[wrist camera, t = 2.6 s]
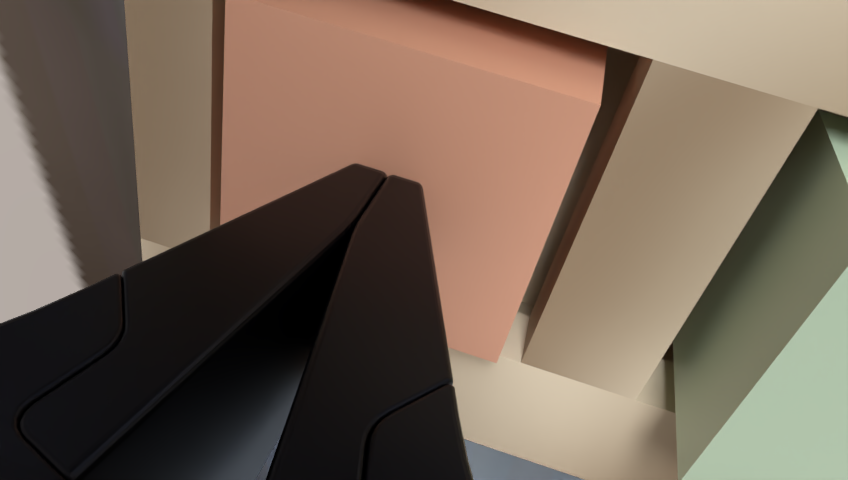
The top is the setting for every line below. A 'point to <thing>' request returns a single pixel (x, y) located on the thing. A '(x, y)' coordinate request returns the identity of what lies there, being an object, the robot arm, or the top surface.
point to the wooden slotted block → (564, 200)
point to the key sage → (774, 332)
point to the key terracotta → (416, 128)
